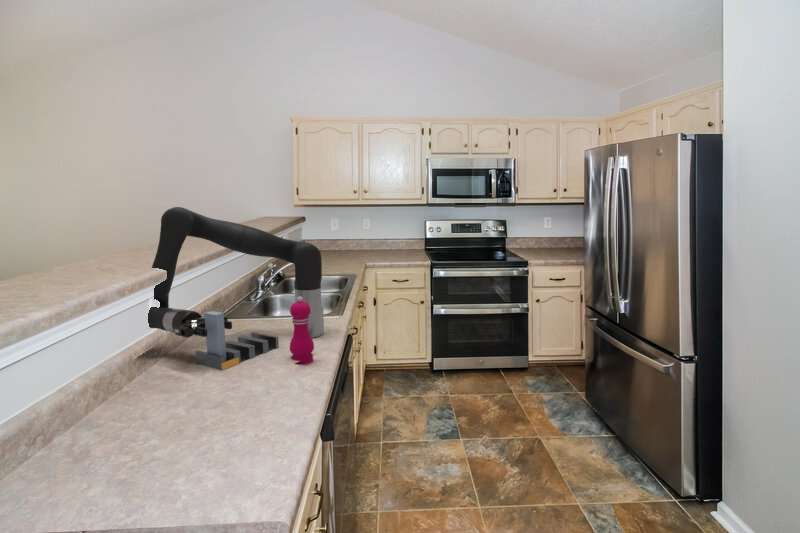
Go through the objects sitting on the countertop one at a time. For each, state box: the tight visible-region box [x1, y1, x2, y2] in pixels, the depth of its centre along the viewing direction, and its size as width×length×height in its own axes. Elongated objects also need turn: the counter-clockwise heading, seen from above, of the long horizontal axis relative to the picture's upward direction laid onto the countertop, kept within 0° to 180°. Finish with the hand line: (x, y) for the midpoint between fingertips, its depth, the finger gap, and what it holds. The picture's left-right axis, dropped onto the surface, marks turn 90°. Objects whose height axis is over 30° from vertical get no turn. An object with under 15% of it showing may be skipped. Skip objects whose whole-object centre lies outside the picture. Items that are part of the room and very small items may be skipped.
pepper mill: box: [289, 297, 315, 366], centre depth 135 cm, size 7×7×20 cm
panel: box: [203, 310, 227, 361], centre depth 130 cm, size 2×5×15 cm, turn 61°
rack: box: [195, 331, 280, 371], centre depth 138 cm, size 22×11×5 cm, turn 151°
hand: (219, 329), depth 129 cm, fingers open, 8 cm apart
